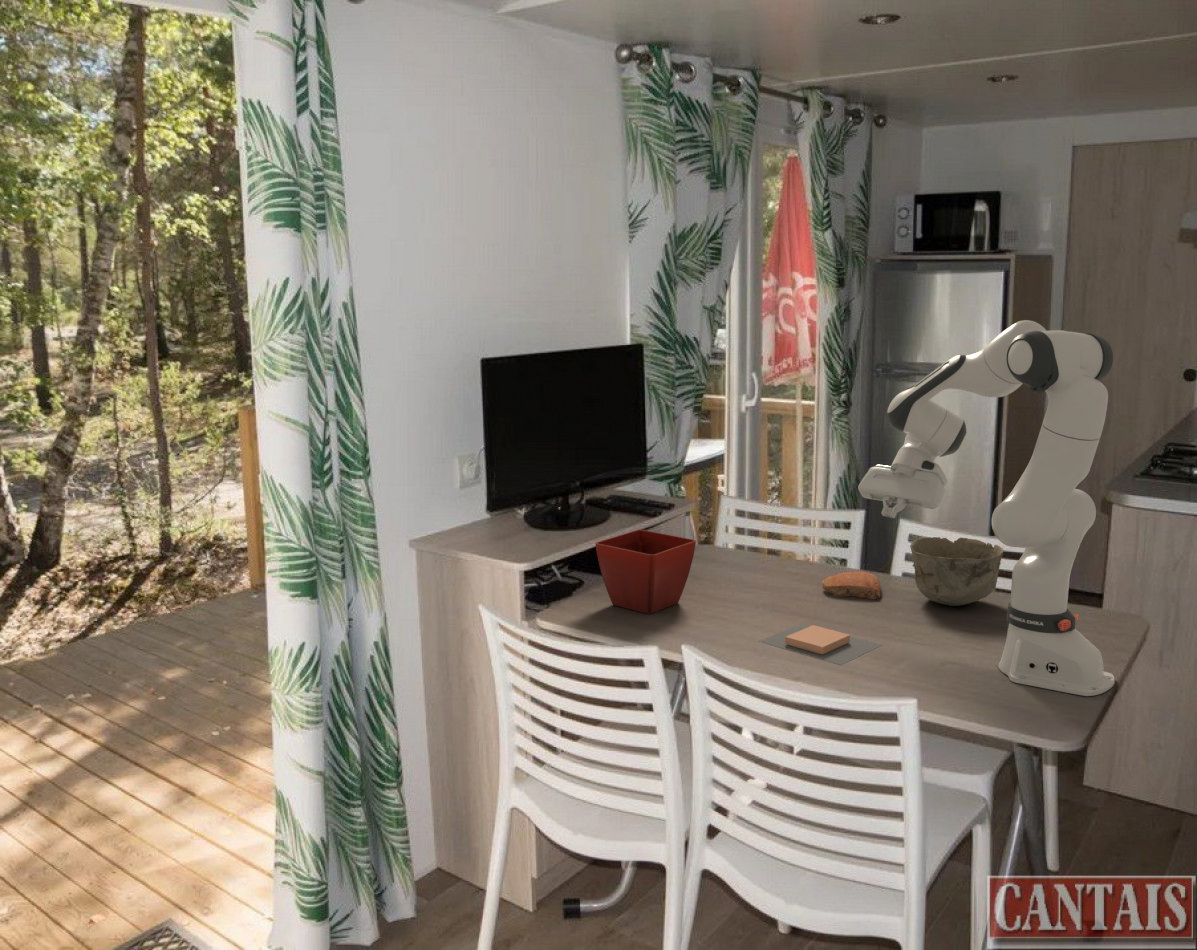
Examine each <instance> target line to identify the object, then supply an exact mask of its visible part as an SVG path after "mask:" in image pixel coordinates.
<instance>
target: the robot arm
mask: <svg viewBox="0 0 1197 950" xmlns="http://www.w3.org/2000/svg"><path fill="white" fill-rule="evenodd" d="M1113 362H1114V353H1113V348H1112V347H1111V345H1110V342H1109V341H1108V340H1107V339H1105V338H1104V337H1102V336H1100V335H1097V334H1095V333H1091V332H1090V333H1089V332H1076V331H1075V332H1074V331H1067V330H1063V329H1060V330H1059V329H1058V330H1057V329H1056V330H1054V329H1052V330H1047V329H1046V328H1045V327H1044V326H1042V325H1041V324H1040V323H1038V322H1036V321H1034V320H1028V319H1025V320H1019V321H1017V322H1015V323H1013V324H1011V325H1010V326H1009V327H1007V328H1006V329H1004V330H1003V331H1002V332H1000V333H999V334H997V336H996V337H995V338H993V339H992V341H990V342H989V343H988V344H987V345H986V346H985V347H984V348H983V349H981V350H979V351H977V352H974V353H970V354H957V355H955V356H953V357H951V358H950V359H948V360H947V361H945V362H943V363H942V364H940V365H939V366H938V367H936V368H935V369H934V370H932V371H931V372H929V373H928V374H927V375H925V376H924V377H923V378H921V379H920V380H919V381H918V382H916V383H915V384H913V385H911V386H909V387H907V388H905V389H903V390H901V392H899V393H898V394H896V395H895V397H894V398H893V399H892V400H891V402H890V403H889V405H888V407H887V410H886V414H887V415H886V416H887V419H888V422H889V425H890V427H891V428H893V429H895V430H896V431H897V430H898V431H899V432H901V433H904V434H906V436H905V437H904V443H903V445H902V446H901V447H900V448H899V449H898V451H897V453H896V455H895V457H894V459H893V461H892V463H891V465H883V464H876V465H874V466H871V467H869V468H868V471H867V472H866V473H865V475H864V476H863V478H862V480H861V481H860V483H859V484H858V486H857V490H858V492H859V494H860V496H861V497H862V498H863V499H868V500H874V501H881V502H882V506H883V508H882V510H881V515H882V517H886V518H891V519H896V517H897V514H898V513H900V512H901V511H902V510H904V509H905V508H906V506H910V507H911V506H912V507H916V508H917V507H918V508H922V509H923V508H924V509H928V510H935V509H936V508H938V507H939V506H940V504H941V502H942V500H943V497H944V493H945V486H946V485H947V483H948V479H947V476H946V474H945V472H944V470H943V468H942V467H941V466H940V464H937V463H936V462H935V460H936V459H937V457H939V458H941V457H946V456H950V455H953V454H955V453H956V452H957V451H958V450H959V448H960V447H961V445H962V444H963V442H964V439H965V437H966V435H967V425H966V422H965V420H964V419H963V418H961V417H960V416H959V415H958V414H956V413H954V412H952V411H951V410H949V409H948V408H946V407H943V406H942V405H940V404H939V403H937V402H935V401H933V400H932V398H933V397H935V396H937V395H938V394H940V393H941V392H942V391H945V390H948V389H950V390H951V389H954V390H962V391H966V392H969V393H972V394H976V395H979V396H981V397H987V398H1003V397H1006V396H1008V395H1010V394H1012V393H1013V392H1015V391H1017V390H1018V389H1019V388H1020V387H1021V386H1022V385H1025V386H1027V387H1028V388H1029V389H1030V390H1031V392H1032V393H1033V392H1034V393H1035V394H1039V393H1043V392H1045V393H1046V395H1047V398H1048V399H1047V401H1048V402H1047V408H1046V412H1045V413H1044V417H1043V421H1042V424H1041V427H1040V430H1039V434H1038V436H1037V439H1036V443H1035V445H1034V449H1033V453H1032V455H1031V458H1030V460H1029V462H1028V464H1027V466H1026V467H1025V470H1024V471H1023V473H1022V474H1021V476H1020V477H1019V478H1018V479H1019V480H1018V481H1017V483H1016V484H1015V486H1014V487H1013V489H1012V490H1011V492H1010V493H1009V494H1008V495H1007V496H1006V497H1005V499H1003V501H1002V502H1001V503H999V504H998V505H997V506H996V507H995V508H994V510H993V512H992V516H991V527H992V531H993V534H994V536H995V537H996V538H997V539H998V541H999V542H1000V543H1001V544H1003V545H1005V546H1007V547H1011V548H1019V549H1024V551H1023V553H1022V555H1021V556H1020V558H1019V560H1018V561H1017V562H1016V563H1015V564H1014V566H1013V569H1012V572H1011V587H1010V589H1011V590H1010V591H1011V592H1010V602H1009V603H1008V605H1007V614H1006V628H1007V633H1006V639H1005V645H1004V647H1003V652H1002V656H1000V657H1001V658H1000V661H999V663H998V669H999V670H1000V671H1001V672H1002V673H1003V674H1005V675H1006V676H1008V679H1009V681H1011V682H1013V683H1016V684H1020V685H1026V686H1030V687H1037V688H1042V689H1046V690H1051V691H1056V692H1061V693H1062V692H1063V693H1068V694H1073V695H1077V696H1084V697H1091V696H1092V697H1093V696H1097V695H1101V694H1103V693H1106V692H1107V691H1108V690H1110V689H1112V688H1113V686H1115V675H1113V673H1111V672H1108V671H1104V660H1103V656H1102V652H1101V650H1100V649H1098V648H1097V647H1096V646H1095V645H1094V644H1093V643H1091V641H1090V640H1089V639H1087V638H1086V637H1085V636H1084V635H1083V634H1082V633H1081V632H1080V631H1078V630H1077V629H1076V622H1077V621H1078V620H1079V615H1080V614H1079V613H1077V614H1074V615H1073V613H1071V611H1070V610H1069V608H1068V600H1069V599H1068V598H1069V587H1070V579H1071V574H1072V573H1071V572H1072V568H1073V566H1074V563H1075V559H1076V556H1077V554H1078V551H1079V548H1080V546H1081V543H1082V541H1083V539H1084V537H1085V535H1086V534H1087V532H1088V531H1089V530H1090V528H1091V527H1092V526H1093V525H1094V523H1095V521H1096V518H1097V517H1096V516H1097V508H1096V504H1095V502H1094V500H1093V499H1092V497H1091V496H1090V495H1089V494H1088V493H1087V492H1086V491H1083V490H1082V489H1078V488H1077V487H1078V485H1079V484H1080V483H1081V482H1083V480H1085V478H1086V477H1087V476H1088V475H1089V472H1090V471H1091V467H1092V464H1093V461H1094V458H1095V456H1096V452H1097V449H1098V446H1099V443H1100V439H1101V436H1102V433H1103V429H1104V426H1105V422H1106V415H1107V411H1108V404H1109V403H1108V402H1109V392H1108V389H1107V387H1106V385H1104V383H1102V382H1101V380H1104V379H1105V377H1107V376H1108V375H1109V373H1110V371H1111V369H1112V366H1113ZM892 503H894V504H895V505H894V506H893V507H889V506H892Z"/></svg>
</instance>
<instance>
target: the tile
mask: <svg viewBox="0 0 1197 950" xmlns="http://www.w3.org/2000/svg"><path fill="white" fill-rule="evenodd" d="M809 626H810V627H808V628H805V629H803V630H800V631H798V632H796V633H793V634H791V635H789V636H786V637H785V644H787V645H789V646H792V647H796V648H799V649H803V650H807V651H810V652H814V653H817V654H821V655H823V654H825V653H827V652H829V651H832V650H834V649H836V648H838V647H840V646H843V645H845V644H847V643H849V642H850V637H851V634H848V633H844V632H840V631H837V630H833V629H829V628H825V627H823V626H817V625H813V624H812V625H809Z"/></svg>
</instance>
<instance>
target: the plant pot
mask: <svg viewBox="0 0 1197 950" xmlns="http://www.w3.org/2000/svg"><path fill="white" fill-rule="evenodd" d="M696 543H697V541H696V539H691V538H687V537H682V536H677V535H676V536H675V535H671V534H665V533H661V532H656V531H655V532H654V531H651V530H647V529H646V530H645V529H635V530H632V531H630V532H626V533H623V534H619V535H617V536H616V535H615V536H613V537H609V538H606V539H602V540H600V541H599V540H598V541H596V542H595V545H594V546H595V551H596V556H597V562H598V566H599V570H600V573H601V577H602V580H603V583H604V587H605V589H606V592H607V594H608V597H609V600H610V601H611V604H612V605H613V606H617V607H620V608H625V609H627V610H631V611H635V612H639V613H644V614H646V615H647V614H648V615H651V614H654V613H656V612H660V611H661V609H662V610H664V609H666V607H667V608H668V606H669V607H671V605H672V606H674V605H677V604H678V603H679V602H680V600H681V597H682V595H683V592H684V590H685V587H686V584H687V582H688V578H689V575H690V572H691V567H692V564H693V559H694V555H695V550H696ZM676 603H677V604H676ZM673 604H674V605H673Z"/></svg>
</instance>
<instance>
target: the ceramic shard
mask: <svg viewBox="0 0 1197 950" xmlns="http://www.w3.org/2000/svg"><path fill="white" fill-rule="evenodd" d="M821 583H822V589H823V590H824V591H825V592H826V593H827V592H828V594H829V593H830V595H833V597H838V596H839V597H857V598H864V599H871V600H879V599H880V598H881V583H880V580H879V577H877V576H876V575H874V574H872V573H870V572H866V571H845V572H840V573H836V574H833V575H830V576H827V577H826V578H823V579H822V582H821Z"/></svg>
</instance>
